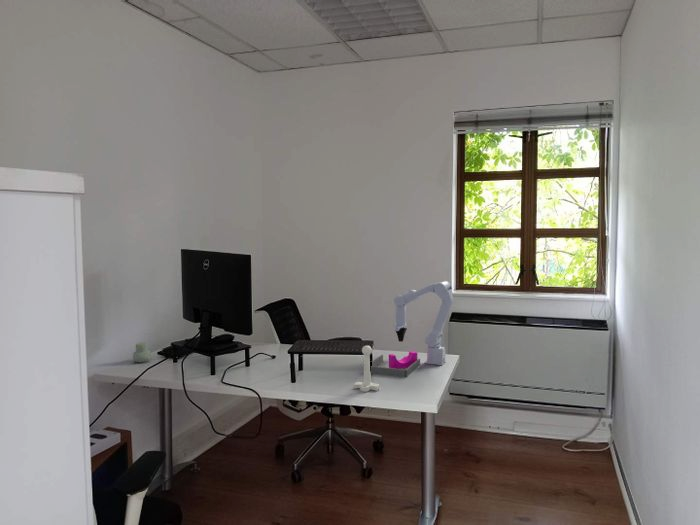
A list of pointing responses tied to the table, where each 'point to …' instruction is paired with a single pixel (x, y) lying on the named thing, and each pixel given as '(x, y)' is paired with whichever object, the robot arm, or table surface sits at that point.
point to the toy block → (402, 360)
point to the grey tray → (391, 370)
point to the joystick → (366, 373)
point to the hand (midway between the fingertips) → (400, 341)
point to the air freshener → (141, 353)
